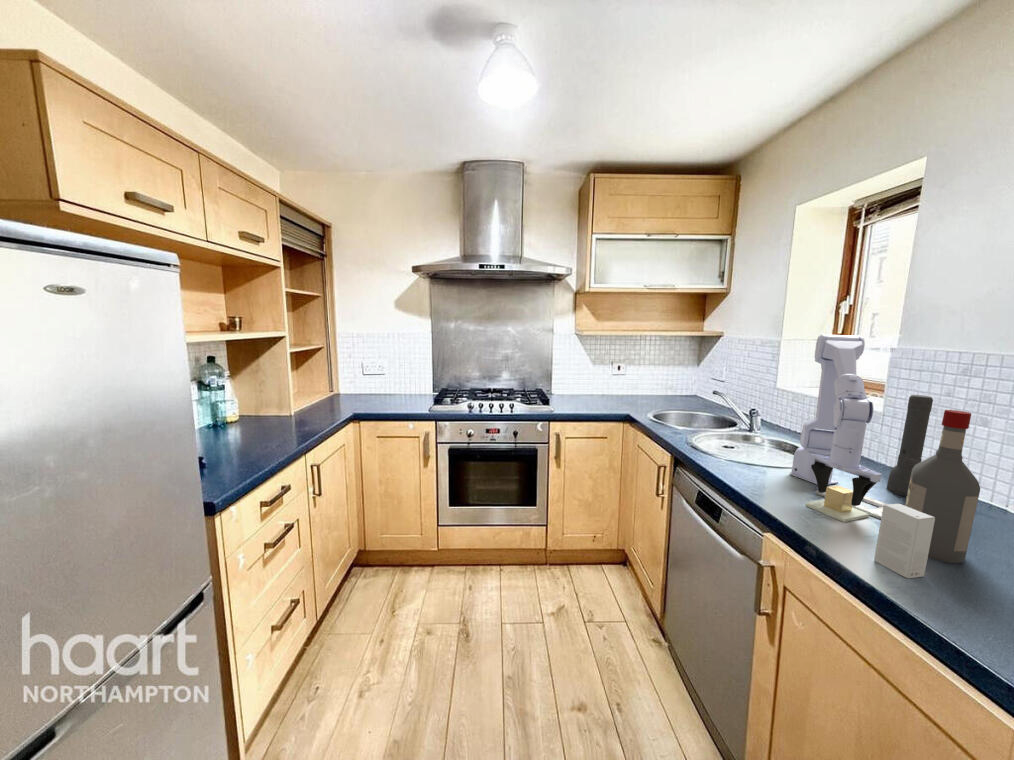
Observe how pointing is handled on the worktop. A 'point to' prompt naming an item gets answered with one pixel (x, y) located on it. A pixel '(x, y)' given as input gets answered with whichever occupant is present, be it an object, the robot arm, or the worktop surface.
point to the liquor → (947, 491)
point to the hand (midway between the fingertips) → (838, 498)
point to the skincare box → (904, 540)
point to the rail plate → (872, 512)
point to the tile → (842, 516)
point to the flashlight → (910, 443)
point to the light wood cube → (838, 498)
